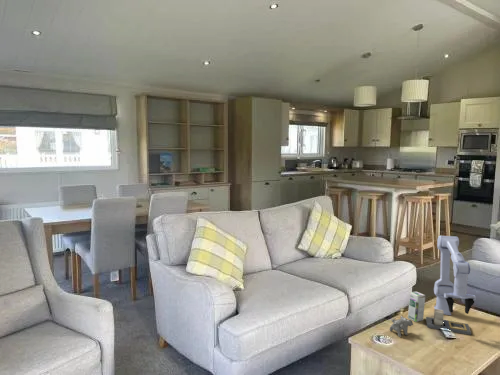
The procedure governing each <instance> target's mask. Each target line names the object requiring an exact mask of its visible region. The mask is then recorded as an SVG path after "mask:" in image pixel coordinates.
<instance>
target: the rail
mask: <svg viewBox="0 0 500 375" xmlns="http://www.w3.org/2000/svg"><path fill="white" fill-rule="evenodd" d="M425 322H426V327H427V328H428V329H434V330H439V329H440V328H447V329H449V330H451V331H453V332H452V333H456V334H462V335H466V336H467V335H468V336H472V331H471V328H470V325H469V324H468V323H466V322H465V323H464V322H458V321H453V320H446V319H443V322H444V324H445V326H444V324H443V326H441V325H435V324H434V323H433V322H434V317H429V316H426V317H425Z"/></svg>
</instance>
